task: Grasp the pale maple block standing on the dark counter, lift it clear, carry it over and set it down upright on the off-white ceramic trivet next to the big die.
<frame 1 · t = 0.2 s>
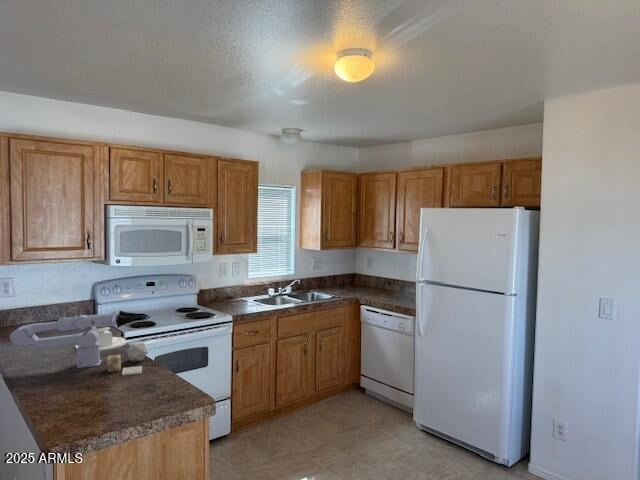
hand: (134, 317, 216), 21 cm above the worktop, tool horizontal, fingers open, 7 cm apart
maple block: (114, 369, 204), on the worktop
die: (137, 360, 218), on the worktop
dish: (101, 345, 243), on the worktop
trivet: (132, 371, 201), on the worktop
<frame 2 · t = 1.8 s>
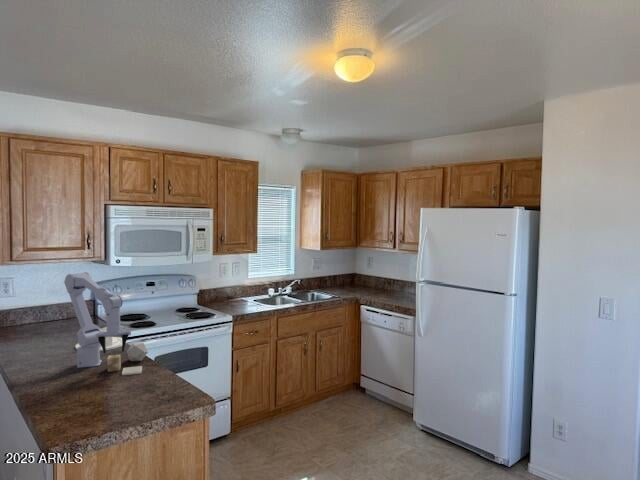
hand: (114, 351, 204), 8 cm above the worktop, tool pointing down, fingers open, 7 cm apart
nothing on the worktop moved.
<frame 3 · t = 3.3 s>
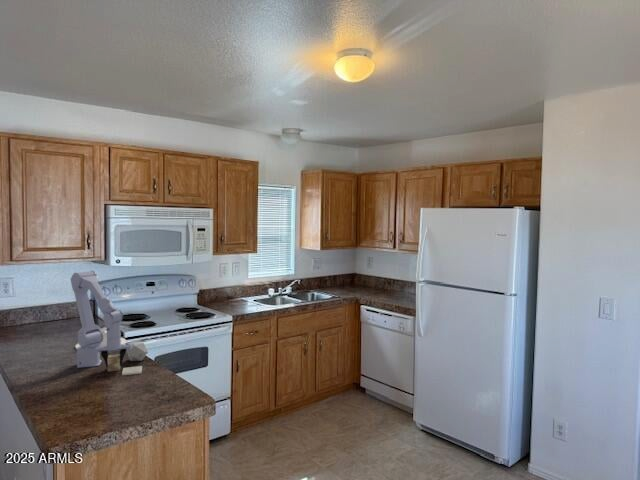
hand: (114, 366, 204), 1 cm above the worktop, tool pointing down, fingers closed on maple block, 5 cm apart
maple block: (114, 369, 204), on the worktop, touching gripper
everything else where it was.
when the fingers open (3 cm above the worktop, at t = 7.3 s): maple block stays where it is, resting on trivet.
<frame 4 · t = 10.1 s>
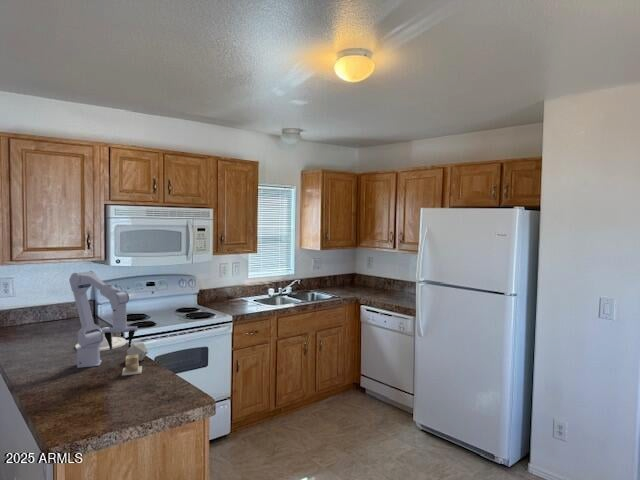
hand: (120, 348, 202), 10 cm above the worktop, tool pointing down, fingers open, 7 cm apart
maple block: (132, 369, 201), point 1 cm above the worktop, touching trivet
everything else where it was.
at the end: maple block inside the target area on the trivet (0.1 cm from its centre), point 0.9 cm above the trivet's base; maple block tilted 0°; the gripper is holding nothing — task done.
